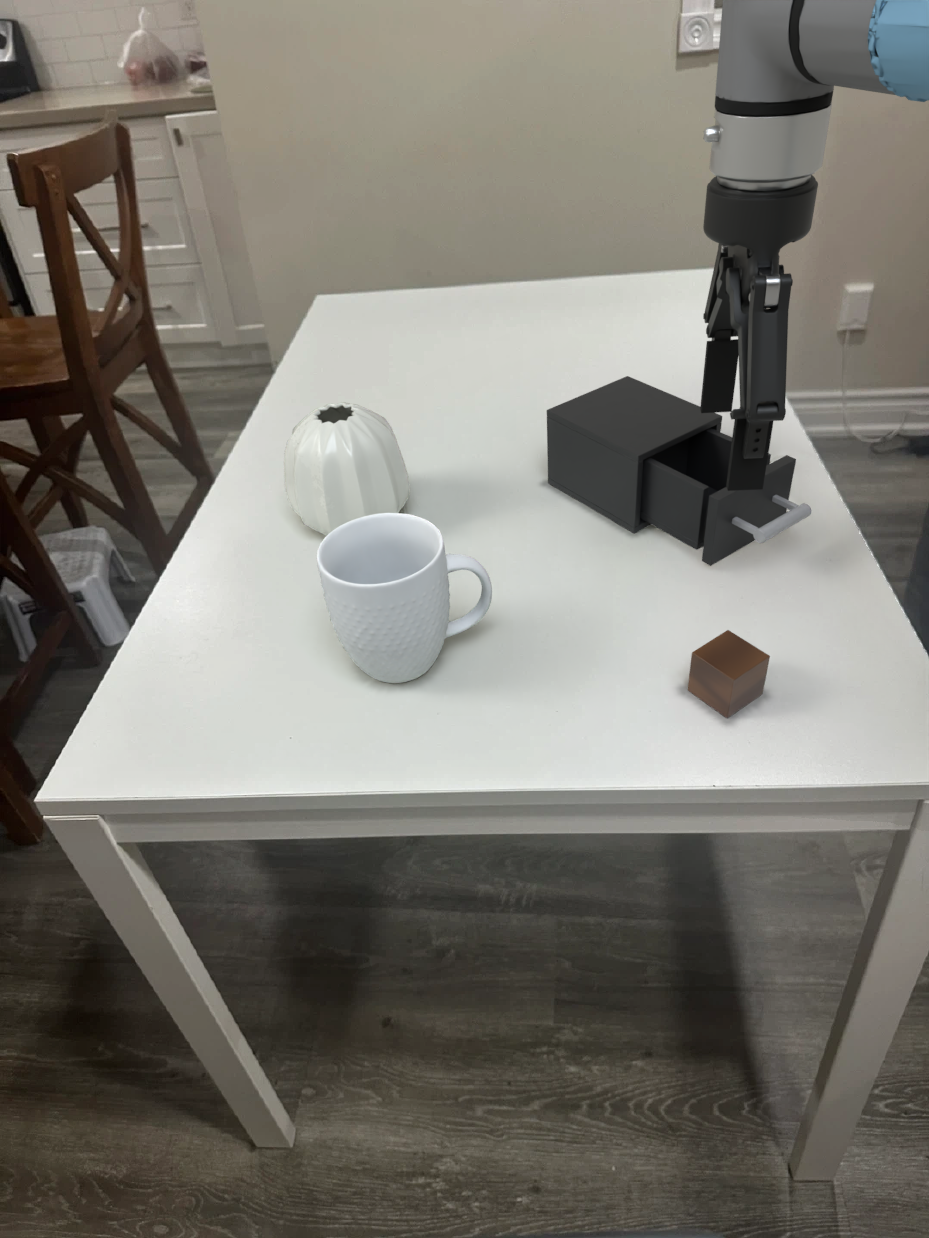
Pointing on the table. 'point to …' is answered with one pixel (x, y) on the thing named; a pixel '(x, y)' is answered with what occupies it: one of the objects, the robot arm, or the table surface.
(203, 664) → the table surface
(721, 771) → the table surface
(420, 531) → the mug
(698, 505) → the drawer
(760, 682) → the block
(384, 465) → the vase
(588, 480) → the cabinet
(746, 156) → the robot arm
